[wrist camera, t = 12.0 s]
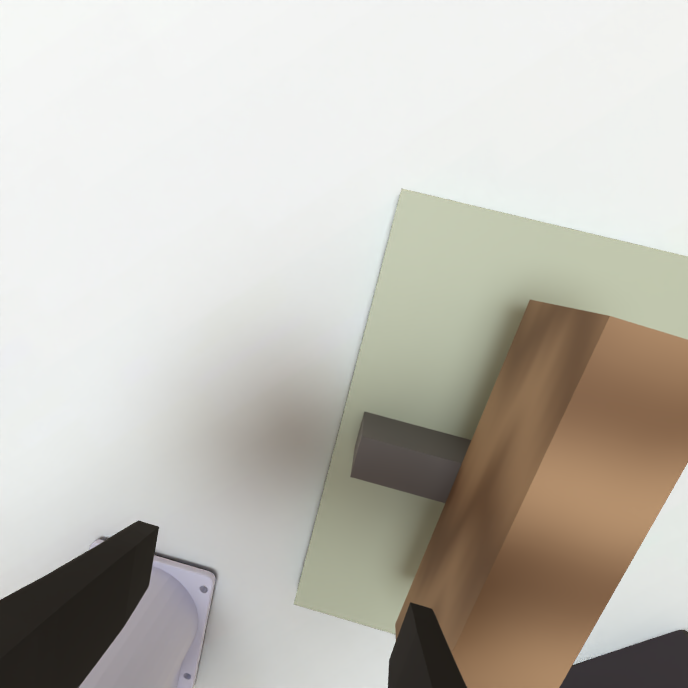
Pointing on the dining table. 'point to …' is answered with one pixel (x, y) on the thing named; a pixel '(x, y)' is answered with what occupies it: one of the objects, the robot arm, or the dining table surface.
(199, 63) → the dining table surface
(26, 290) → the dining table surface
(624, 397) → the walnut batten
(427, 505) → the stand
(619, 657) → the red and black box
